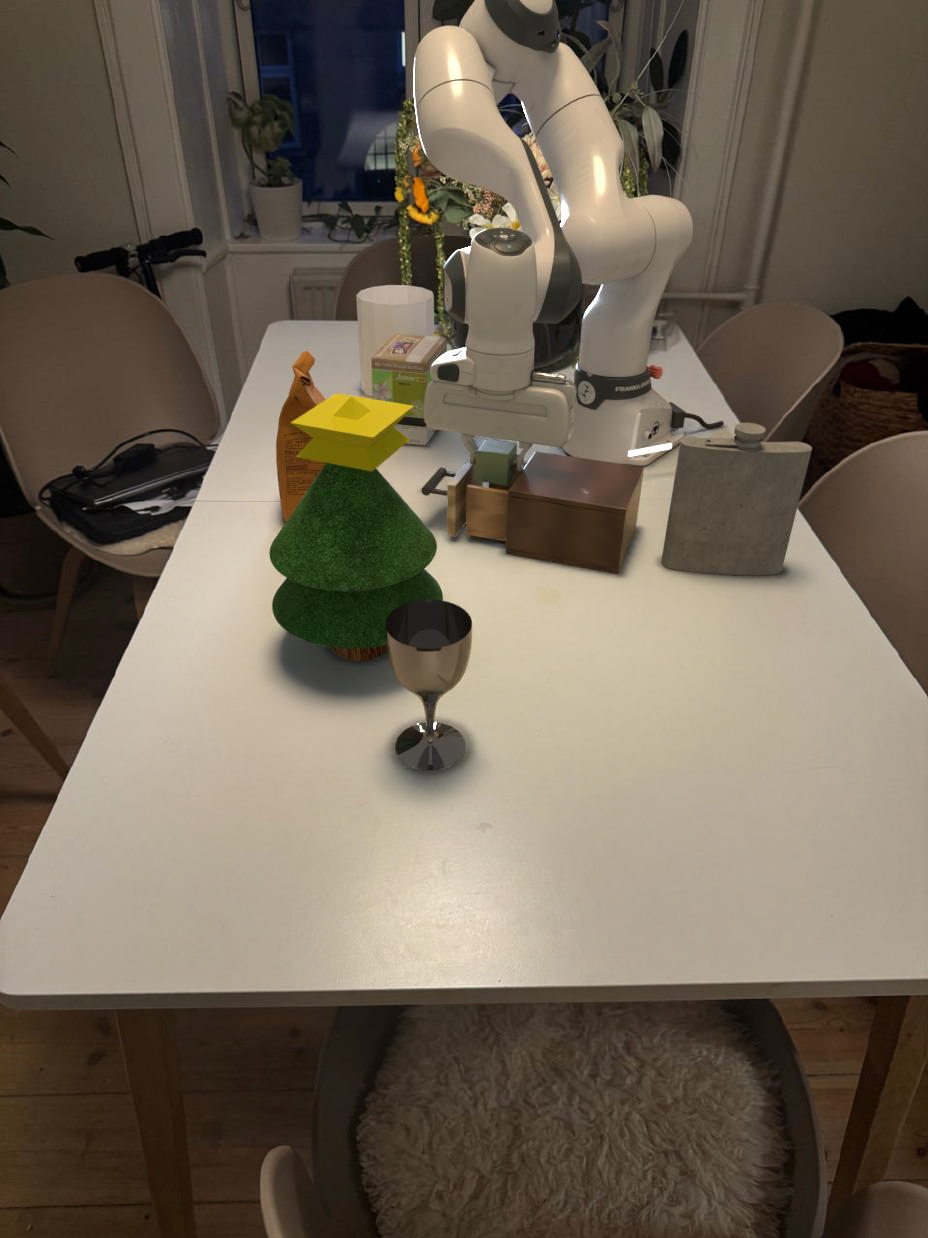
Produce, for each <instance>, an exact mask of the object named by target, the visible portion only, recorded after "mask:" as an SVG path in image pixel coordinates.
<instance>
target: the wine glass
mask: <svg viewBox="0 0 928 1238" xmlns="http://www.w3.org/2000/svg"><path fill="white" fill-rule="evenodd" d="M385 636H386V645H387V652H386V653H387V657H388V661H389V664H390V666H391V670H392V672H393V674H394V676H395V678H396V680H397V681H398V683H399V684H400V685H401V686H402V687H403V688H405V689H406V690H407V691H408V692H410V693H411V694H413V695H414V696H416V697H418V699H419V700H420V702H421V703H422V706H423V710H424V714H425V722H419V723H416V724H413V725H410V726H409V727H406V729H404V730H403V731H402V732H401V733H400V734H399V735H398V737H396V741H395V743H394V745H395V746H394V750H395V753H396V756H397V758H398V759H399V761H401V762H402V763H403V764H405V765H406V766H408V767H410V768H413V769H415V770H419V771H427V772H428V771H429V772H434V771H441V770H444V769H447V768H450V767H452V766H454V765H455V764H457V763H458V762H459V761H461V759H462V758H463V756H464V755H465V753H466V749H467V743H466V739H465V737H464V736H463V735H462V732H460V731H459V730H458V729H457V728H455V727H453V726H451V725H449V724H447V723H443V722H436V721H435V717H436V711H437V710H436V709H437V705H438V702H439V700H440V699H441V698H442V697H443V696H444V695H446V694H447V693H449V692H450V691H452V690H453V689H454V688H456V686H457V685H458V684H459V683H460V682H461V681H462V679H463V678H464V675H465V674H466V671H467V668H468V664H469V661H470V657H471V651H472V642H473V620H472V617H471V615H470V614H469V613H468V612H467V611H466V609H465V608H463V607H461V606H460V605H457V604H456V603H453V602H450V601H448V600H447V601H446V600H443V601H442V600H433V599H426V600H417V601H412V602H409V603H405V604H403V605H401V606H399V607H397V608H396V609H394V610H393V611H392V612H391V613H390V614H389V615H388V617H387V619H386V623H385Z"/></svg>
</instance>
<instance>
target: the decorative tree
mask: <svg viewBox="0 0 928 1238" xmlns="http://www.w3.org/2000/svg"><path fill="white" fill-rule="evenodd" d="M325 399H326V400H325V401H323V402H322V403H320V404H319V405H317V406H316V407H314V408H312V409H311V410H309V411H308V412H306V413H305V414H303V415H302V416H300V417H299V418H297V419H295V420H294V421H292V422H291V423H292V424H293V425H295V426H296V427H298V428H299V429H301V430H302V431H304V432H305V433H307V434H308V435H310V436H311V437H313V439H312V440H311V441H310V442H309V443H308V444H307V445H306V446H305V447H304V448H303V450H302V451H301V452H300V453H299V454H298V455H297V456H296V457H300V458H305V459H310V460H315V461H320V462H326V464H325V465H324V467H323V468H322V470H321V471H320V473H319V474H318V476H317V477H316V479H315V480H314V482H313V483H312V484H311V486H310V487H309V489H308V490H307V492H306V493H305V495H304V496H303V498H302V499H301V501H300V502H299V504H298V505H297V507H296V508H295V510H294V511H293V513H292V514H291V516H290V517H289V518H288V520H287V521H285V523H284V524H283V526H282V527H281V529H280V530H279V532H278V533H277V535H276V536H275V538H274V539H273V541H272V542H271V545H270V547H269V551H268V552H269V559H270V562H271V564H272V566H273V567H274V569H275V570H276V571H277V572H278V573H280V575H282V576H283V577H285V580H284V581H283V582H282V583H281V585H280V586H279V587H278V588H277V590H276V591H275V593H274V595H273V597H272V601H271V604H272V605H271V611H272V614H273V616H274V619H275V621H276V622H277V623H278V625H279V626H280V627H281V628H282V629H283V630H285V631H286V632H287V633H288V634H290V635H292V636H293V637H295V638H296V639H299V640H302V641H304V642H306V643H309V644H313V645H316V646H321V647H326V648H331V650H332V652H334V653H335V654H336V655H337V656H338V657H340V658H343V659H345V660H350V661H358V662H360V661H361V662H362V661H368V660H369V661H370V660H374V659H377V658H379V657H381V656H384V655H385V654H387V653H388V652H387V645H386V636H385V623H386V619H387V617H388V615H389V614H390V613H391V612H392V611H393V610H394V609H396V608H397V607H399V606H401V605H403V604H405V603H409V602H412V601H417V600H426V599H433V600H442V601H444V594H443V590H442V588H441V585H440V584H439V582H438V581H437V580H436V578H434V576H432V575H431V574H430V572H428V571H427V570H426V568H427V567H429V565H430V564H431V562H433V560H434V558H435V556H436V555H437V550H438V544H437V539H436V537H435V534H434V533H433V532H432V531H431V530H430V528H428V526H427V525H426V524H425V523H424V522H423V521H422V519H421V518H420V517H419V516H418V515H417V514H416V512H415V511H414V509H412V508H411V506H410V505H409V504H408V503H407V502H406V500H405V499H404V498H403V497H402V496H401V495H400V493H398V491H397V490H396V489H395V488H394V487H393V486H392V484H391V483H390V482H389V481H388V480H387V479H386V477H385V476H384V474H382V473H381V472H380V470H379V469H378V467H380V466H381V465H382V464H383V463H384V462H386V461H387V460H388V459H389V458H391V457H392V456H393V455H394V454H395V453H396V452H397V451H399V450H400V449H401V448H402V447H403V446H405V445H407V444H406V443H407V442H408V441H409V440H410V439H409V438H407V437H406V436H405V435H403V434H402V433H400V432H399V431H398V430H396V429H395V428H394V426H395V425H396V424H397V423H398V422H399V421H400V420H401V419H402V418H403V417H404V416H405V415H406V414H407V413H408V412H409V411H410V410H411V409H412V407H413V406H412V405H406V404H400V403H394V402H388V401H382V400H375V399H372V398H370V397H369V398H368V397H363V396H358V395H357V396H356V395H350V394H344V393H338V392H336V393H335V394H332V395H331V396H329V397H328V398H325Z"/></svg>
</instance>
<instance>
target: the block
mask: <svg viewBox="0 0 928 1238" xmlns="http://www.w3.org/2000/svg"><path fill="white" fill-rule="evenodd" d="M514 454H518V442H516V441H509V440H502V439H495V438H485V439H484V440H483V442H482V443H481V445H480V446H478V449H477V450H476V481H481V482H483V483H487V484H489V483H493V484H500V485H507V484H508V483H509V482H510V480H511V479H512V477H513V476H514V475H515V473H516V470H511V469H510V466H511V458H512V457H513V455H514Z"/></svg>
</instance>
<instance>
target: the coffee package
mask: <svg viewBox="0 0 928 1238" xmlns="http://www.w3.org/2000/svg"><path fill="white" fill-rule="evenodd" d="M315 361H316V358H315V357H314V356H313V355H312V354H311V353H310V351H308V350H305V351H302V352H301V354H300V355H299V357H298V358H297V360H296V361H295V362H294V363H293V365H292V366H291V367H292V368H291V369H292V371H293V374H294V377H293V380H292V383H291V385H290V388H289V392H288V396H287V398H286V399H285V400H284V402H283V404H282V407H281V410H280V413H279V414H280V415H279V416H278V425H277V432H276V433H277V434H276V441H275V459H276V472H277V473H276V474H277V484H278V485H277V486H278V493H279V500H280V501H279V502H280V508H281V512H282V517H283V520H284V521H285V522H286V521H287V520H288V518H289V517H290V516H291V514H292V513H293V511H294V510H295V508H296V507H297V505H298V504H299V502H300V501H301V499H302V498H303V496H304V495H305V493H306V492H307V490H308V489H309V487H310V486H311V484H312V483H313V482H314V480H315V479H316V477H317V476H318V474H319V473H320V471H321V470H322V468H323V467H324V465H325V464H326V462H320V461H315V460H310V459H305V458H300V457H296V456H297V455H298V454H299V453H300V452H301V451H302V450H303V448H304V447H305V446H306V445H307V444H308V443H309V442H310V441H311V440H312V439H313V437H311V436H310V435H308V434H307V433H305V432H304V431H302V430H301V429H299V428H298V427H296V426H295V425H293V424H292V423H291V422H292V421H294V420H295V419H297V418H299V417H300V416H302V415H303V414H305V413H306V412H308V411H309V410H311V409H312V408H314V407H316V406H317V405H319V404H320V403H322V402H323V401H325V400H326V399H327V398H326V397H325V396H324V395H323V393H322V392H321V391H320V390H319V389H318V388H317V387H316V385H315V383H314V381H313V378H312V376H311V374H310V370H311V369H312V367H313V366H314V365H315Z"/></svg>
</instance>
